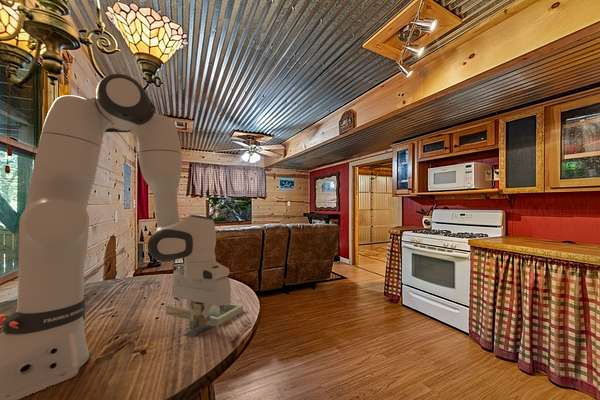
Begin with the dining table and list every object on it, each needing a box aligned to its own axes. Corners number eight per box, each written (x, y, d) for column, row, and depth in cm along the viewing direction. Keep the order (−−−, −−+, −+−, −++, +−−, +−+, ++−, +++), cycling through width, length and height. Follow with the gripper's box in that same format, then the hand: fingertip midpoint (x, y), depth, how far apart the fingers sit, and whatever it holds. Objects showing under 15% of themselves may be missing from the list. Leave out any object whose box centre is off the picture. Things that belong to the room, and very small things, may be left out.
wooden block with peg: (194, 330, 73) (195, 307, 73) (187, 328, 74) (187, 305, 74) (212, 320, 80) (212, 299, 80) (205, 318, 81) (205, 297, 81)
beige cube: (224, 316, 88) (224, 304, 88) (213, 315, 89) (214, 303, 89) (230, 311, 91) (230, 300, 92) (220, 310, 92) (220, 299, 93)
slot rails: (191, 320, 84) (191, 311, 84) (165, 314, 89) (165, 305, 89) (217, 307, 95) (217, 299, 95) (193, 302, 100) (193, 294, 100)
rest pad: (193, 339, 72) (193, 337, 72) (182, 336, 73) (182, 334, 73) (213, 327, 79) (213, 326, 79) (203, 324, 81) (203, 323, 81)
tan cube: (209, 323, 82) (209, 310, 82) (201, 320, 84) (201, 307, 85) (219, 319, 85) (219, 306, 86) (211, 316, 88) (212, 304, 88)
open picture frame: (217, 327, 79) (218, 319, 79) (190, 320, 84) (191, 313, 84) (242, 312, 91) (243, 305, 91) (218, 307, 95) (218, 300, 95)
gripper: (166, 268, 78) (165, 313, 78) (219, 275, 70) (219, 326, 70) (183, 264, 84) (182, 306, 84) (234, 269, 76) (233, 317, 76)
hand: (199, 315), depth 77 cm, fingers closed on wooden block with peg, 3 cm apart
